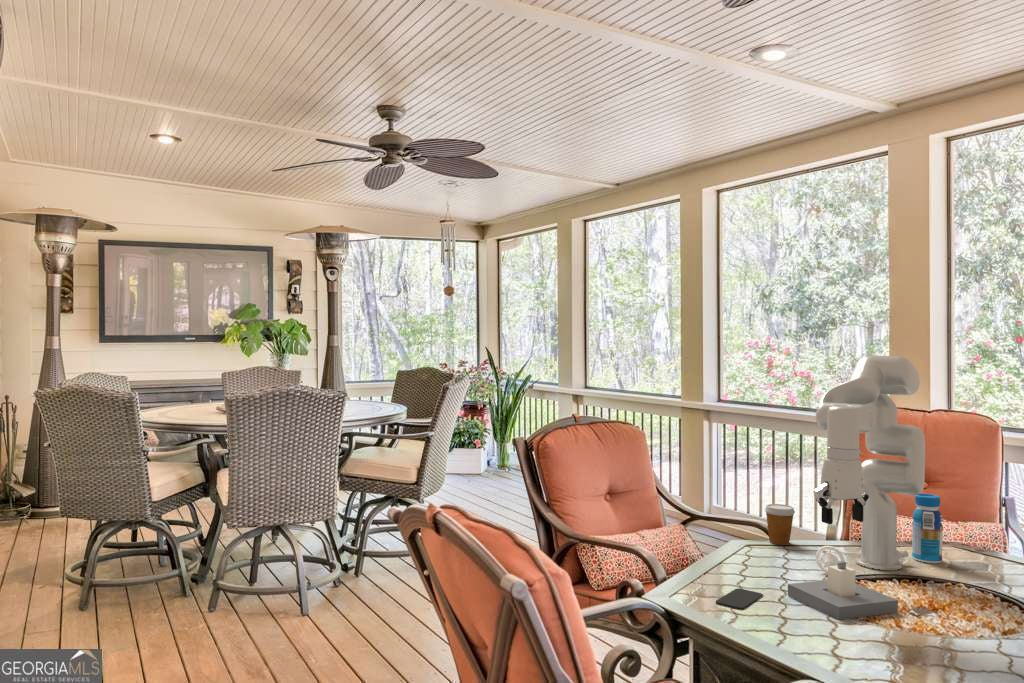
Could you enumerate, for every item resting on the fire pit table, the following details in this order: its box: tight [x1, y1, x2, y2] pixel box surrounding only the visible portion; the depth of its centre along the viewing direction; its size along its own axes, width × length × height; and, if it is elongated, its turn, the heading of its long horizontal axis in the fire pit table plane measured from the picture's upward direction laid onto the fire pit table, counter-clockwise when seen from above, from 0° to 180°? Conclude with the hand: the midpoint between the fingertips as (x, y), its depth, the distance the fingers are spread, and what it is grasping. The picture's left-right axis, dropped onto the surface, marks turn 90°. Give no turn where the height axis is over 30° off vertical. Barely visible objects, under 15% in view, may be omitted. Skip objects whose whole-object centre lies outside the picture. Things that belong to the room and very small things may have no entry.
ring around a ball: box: [815, 545, 846, 574], centre depth 212 cm, size 8×6×8 cm
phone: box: [715, 588, 764, 611], centre depth 189 cm, size 7×1×15 cm
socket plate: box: [787, 579, 899, 621], centre depth 187 cm, size 18×18×3 cm
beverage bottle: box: [911, 493, 944, 564], centre depth 228 cm, size 8×8×20 cm
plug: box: [827, 560, 856, 597], centre depth 187 cm, size 4×4×10 cm
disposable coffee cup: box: [764, 503, 796, 546], centre depth 247 cm, size 10×10×12 cm
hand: (842, 521), depth 188 cm, fingers open, 9 cm apart
